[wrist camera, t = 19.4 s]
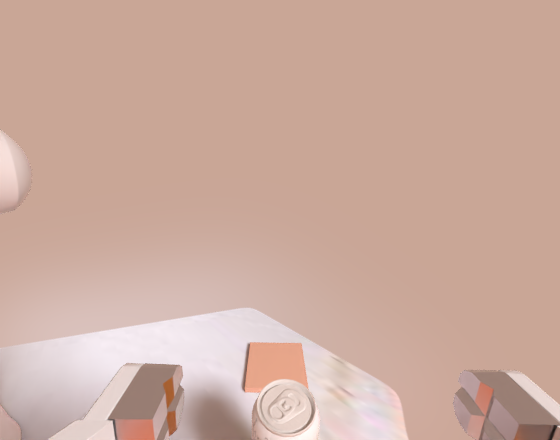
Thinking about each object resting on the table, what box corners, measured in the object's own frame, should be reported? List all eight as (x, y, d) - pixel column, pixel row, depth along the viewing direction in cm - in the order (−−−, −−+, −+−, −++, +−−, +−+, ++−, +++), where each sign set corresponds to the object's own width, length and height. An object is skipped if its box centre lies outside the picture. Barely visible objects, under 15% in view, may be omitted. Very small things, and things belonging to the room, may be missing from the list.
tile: (308, 388, 41) (301, 343, 50) (244, 387, 40) (250, 342, 50) (307, 395, 41) (301, 349, 51) (244, 394, 41) (250, 348, 50)
